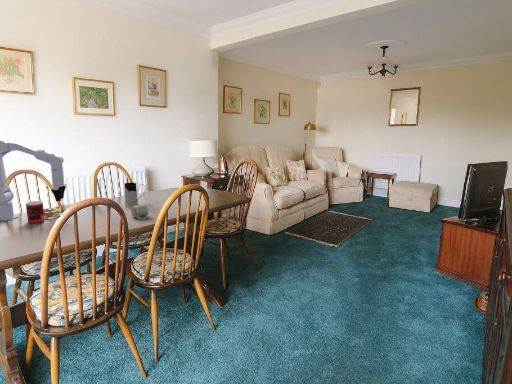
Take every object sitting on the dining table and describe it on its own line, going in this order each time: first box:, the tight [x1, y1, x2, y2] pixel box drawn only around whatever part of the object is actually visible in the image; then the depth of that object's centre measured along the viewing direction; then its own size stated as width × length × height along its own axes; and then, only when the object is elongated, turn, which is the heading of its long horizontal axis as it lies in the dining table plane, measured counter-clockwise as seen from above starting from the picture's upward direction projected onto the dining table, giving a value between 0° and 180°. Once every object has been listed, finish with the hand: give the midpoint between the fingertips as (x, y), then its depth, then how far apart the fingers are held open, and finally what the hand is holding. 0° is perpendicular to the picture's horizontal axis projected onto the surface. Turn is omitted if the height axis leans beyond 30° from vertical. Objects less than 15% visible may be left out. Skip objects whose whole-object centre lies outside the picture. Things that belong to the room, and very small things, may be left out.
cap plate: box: [44, 207, 62, 221], centre depth 188 cm, size 14×14×4 cm
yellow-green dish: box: [43, 203, 66, 216], centre depth 188 cm, size 13×10×5 cm
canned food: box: [25, 200, 45, 225], centre depth 175 cm, size 8×8×11 cm
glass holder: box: [123, 181, 146, 208], centre depth 219 cm, size 9×14×15 cm, turn 127°
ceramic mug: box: [130, 203, 149, 221], centre depth 191 cm, size 11×8×8 cm
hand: (59, 199), depth 184 cm, fingers open, 6 cm apart
